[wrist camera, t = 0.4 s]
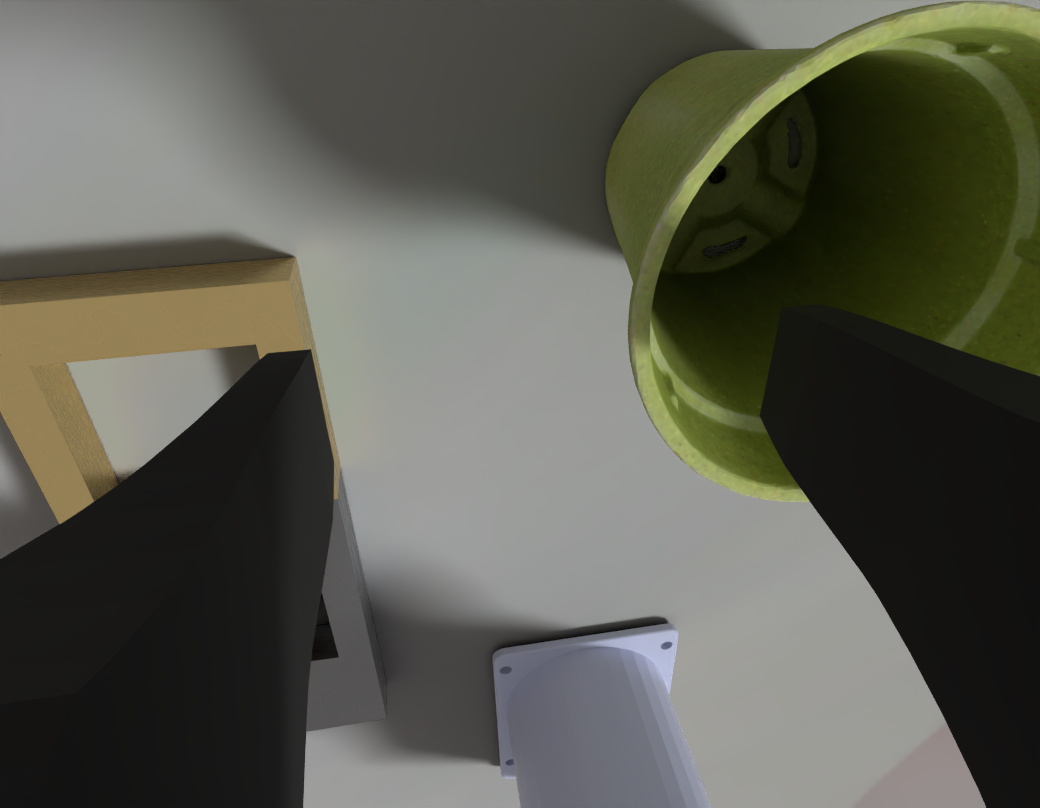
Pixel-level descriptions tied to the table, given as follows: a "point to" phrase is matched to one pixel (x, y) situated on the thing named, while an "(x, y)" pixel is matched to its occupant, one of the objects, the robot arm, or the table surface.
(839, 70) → the plant pot
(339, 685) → the tray
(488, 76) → the table surface
